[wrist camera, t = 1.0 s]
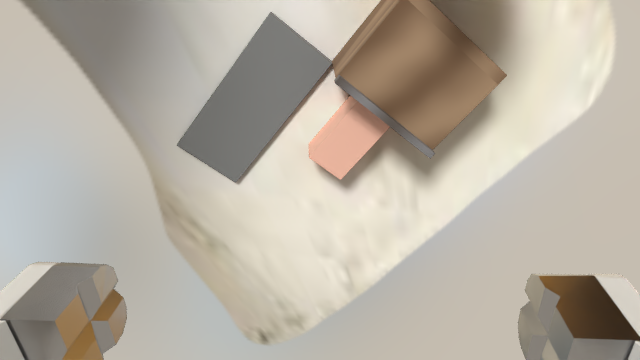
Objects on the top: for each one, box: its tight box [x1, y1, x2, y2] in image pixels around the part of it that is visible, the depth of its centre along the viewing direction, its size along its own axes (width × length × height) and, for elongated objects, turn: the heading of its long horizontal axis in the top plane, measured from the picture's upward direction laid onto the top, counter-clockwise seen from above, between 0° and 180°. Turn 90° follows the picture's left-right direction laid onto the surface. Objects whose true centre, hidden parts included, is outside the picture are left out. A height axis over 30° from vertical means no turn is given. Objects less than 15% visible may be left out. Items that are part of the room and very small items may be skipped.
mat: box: [177, 12, 332, 183], centre depth 42 cm, size 7×16×1 cm, turn 141°
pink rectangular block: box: [309, 95, 390, 180], centre depth 42 cm, size 4×14×4 cm, turn 141°
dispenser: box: [332, 0, 507, 158], centre depth 38 cm, size 11×9×6 cm
